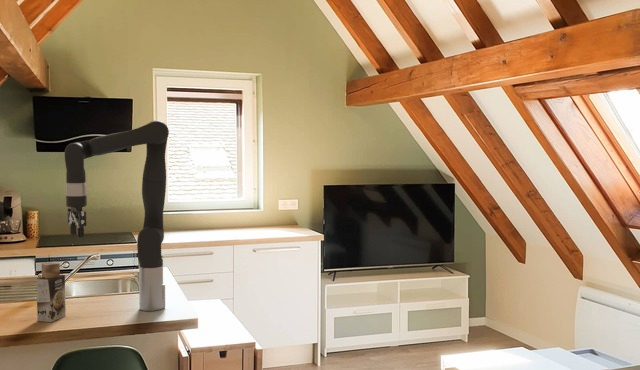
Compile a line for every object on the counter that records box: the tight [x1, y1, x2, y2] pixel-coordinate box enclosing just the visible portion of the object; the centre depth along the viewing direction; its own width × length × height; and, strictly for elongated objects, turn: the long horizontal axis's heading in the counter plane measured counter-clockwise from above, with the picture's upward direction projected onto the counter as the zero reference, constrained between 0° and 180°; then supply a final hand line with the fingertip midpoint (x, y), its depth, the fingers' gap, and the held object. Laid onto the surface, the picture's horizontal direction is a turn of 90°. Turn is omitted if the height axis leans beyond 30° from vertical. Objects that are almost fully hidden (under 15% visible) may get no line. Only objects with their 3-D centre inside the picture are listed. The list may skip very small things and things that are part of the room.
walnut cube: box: [41, 261, 61, 278], centre depth 244 cm, size 5×5×5 cm
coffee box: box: [36, 274, 66, 323], centre depth 245 cm, size 9×6×16 cm
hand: (77, 235), depth 253 cm, fingers open, 8 cm apart
